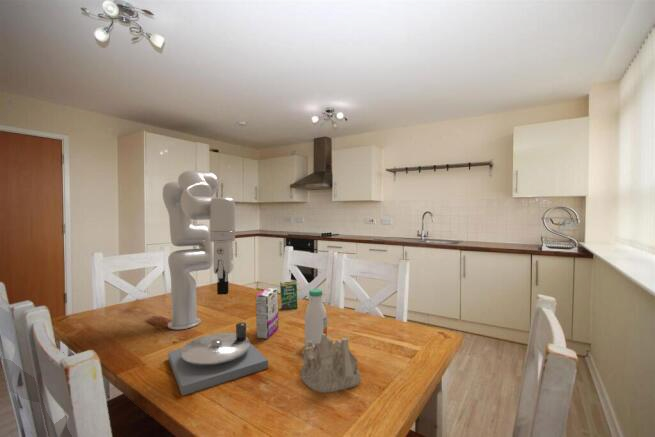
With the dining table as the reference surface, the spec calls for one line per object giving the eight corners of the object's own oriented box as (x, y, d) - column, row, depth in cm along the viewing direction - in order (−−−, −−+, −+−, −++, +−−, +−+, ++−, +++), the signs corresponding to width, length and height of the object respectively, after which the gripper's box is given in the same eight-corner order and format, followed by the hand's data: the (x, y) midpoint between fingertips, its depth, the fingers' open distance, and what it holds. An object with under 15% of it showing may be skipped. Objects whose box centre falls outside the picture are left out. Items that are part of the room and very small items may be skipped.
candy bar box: (267, 327, 126) (267, 287, 125) (278, 328, 125) (278, 288, 124) (255, 338, 115) (255, 295, 114) (268, 339, 114) (267, 295, 113)
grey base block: (168, 359, 99) (168, 348, 99) (241, 340, 113) (241, 331, 112) (182, 395, 79) (181, 382, 79) (268, 368, 93) (267, 356, 93)
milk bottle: (319, 353, 102) (318, 294, 102) (300, 348, 106) (300, 291, 106) (331, 344, 109) (330, 289, 108) (313, 340, 113) (312, 286, 112)
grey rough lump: (366, 386, 83) (362, 330, 83) (307, 398, 79) (303, 339, 79) (348, 362, 98) (345, 315, 98) (297, 371, 94) (295, 322, 94)
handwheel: (190, 376, 82) (189, 350, 82) (175, 349, 98) (174, 327, 98) (259, 354, 94) (259, 332, 94) (236, 333, 110) (236, 314, 110)
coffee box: (280, 309, 147) (280, 283, 147) (280, 308, 150) (280, 281, 150) (297, 308, 149) (297, 282, 149) (296, 306, 152) (296, 280, 152)
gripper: (232, 238, 90) (232, 300, 91) (237, 234, 105) (237, 287, 105) (205, 239, 88) (205, 301, 89) (214, 234, 103) (214, 288, 104)
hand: (222, 293), depth 97 cm, fingers closed
